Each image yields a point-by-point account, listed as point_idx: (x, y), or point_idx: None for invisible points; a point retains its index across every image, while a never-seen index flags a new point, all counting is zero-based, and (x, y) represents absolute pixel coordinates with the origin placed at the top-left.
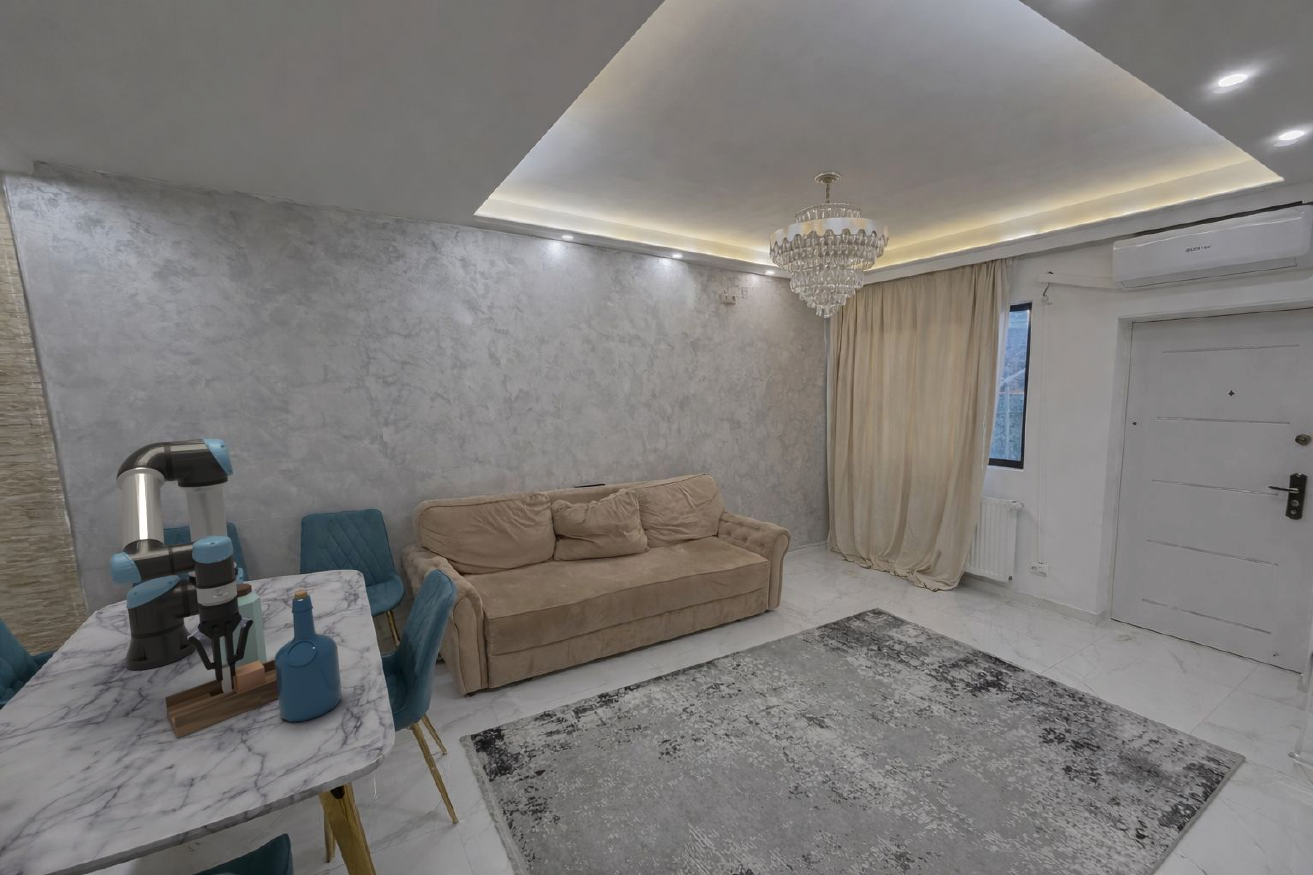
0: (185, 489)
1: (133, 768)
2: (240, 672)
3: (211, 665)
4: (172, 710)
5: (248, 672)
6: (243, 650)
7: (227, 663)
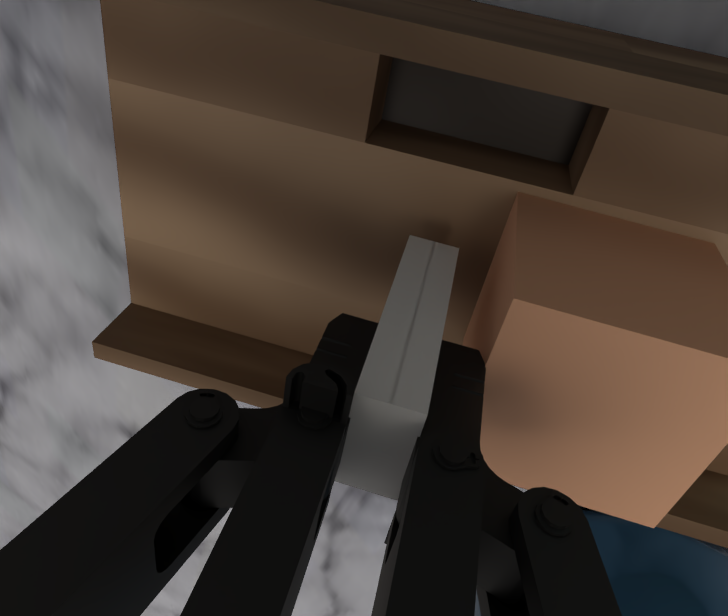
0: None
1: (27, 329)
2: (501, 428)
3: (213, 518)
4: (129, 63)
5: (529, 486)
6: None
7: (415, 445)
